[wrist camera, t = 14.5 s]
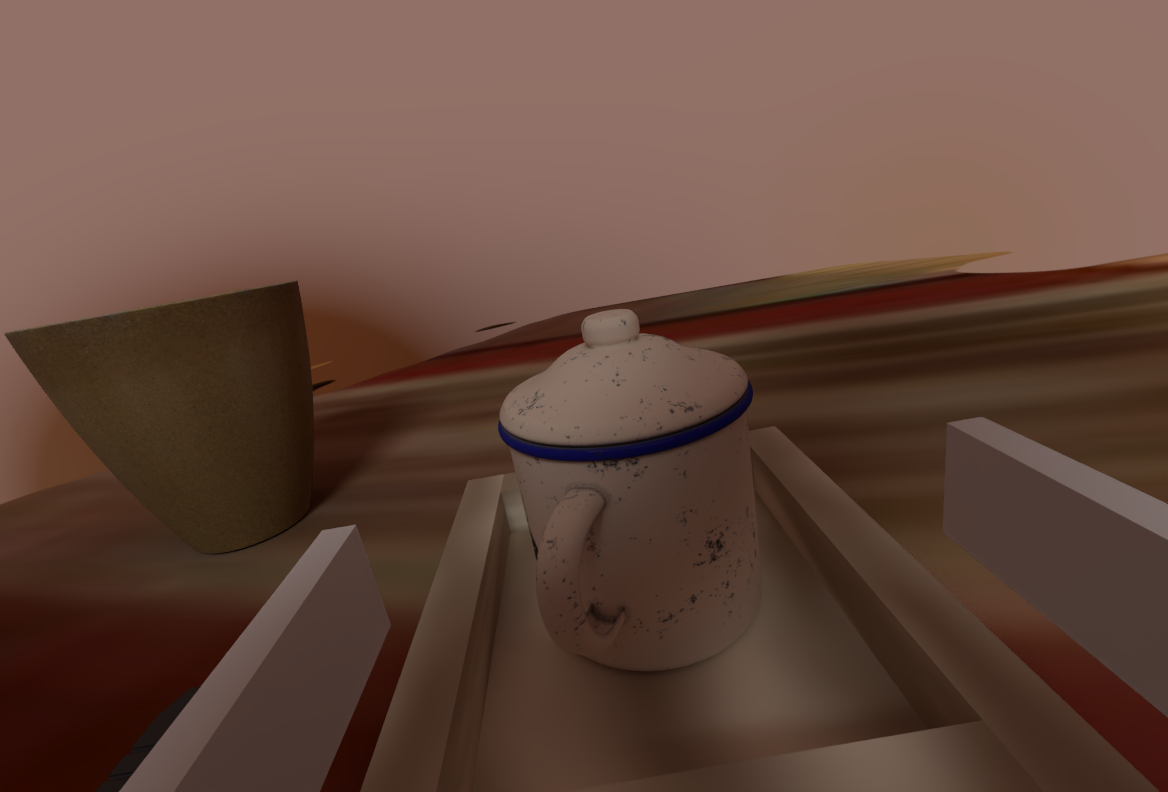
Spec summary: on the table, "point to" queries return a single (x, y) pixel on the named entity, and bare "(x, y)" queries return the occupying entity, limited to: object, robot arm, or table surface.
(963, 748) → the square tray
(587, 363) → the teacup with lid
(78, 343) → the plant pot
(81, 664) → the table surface
